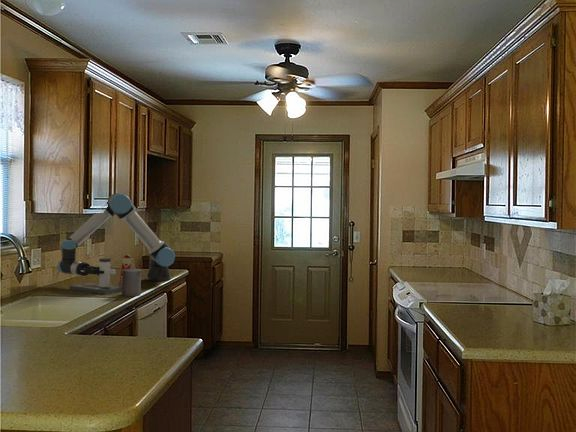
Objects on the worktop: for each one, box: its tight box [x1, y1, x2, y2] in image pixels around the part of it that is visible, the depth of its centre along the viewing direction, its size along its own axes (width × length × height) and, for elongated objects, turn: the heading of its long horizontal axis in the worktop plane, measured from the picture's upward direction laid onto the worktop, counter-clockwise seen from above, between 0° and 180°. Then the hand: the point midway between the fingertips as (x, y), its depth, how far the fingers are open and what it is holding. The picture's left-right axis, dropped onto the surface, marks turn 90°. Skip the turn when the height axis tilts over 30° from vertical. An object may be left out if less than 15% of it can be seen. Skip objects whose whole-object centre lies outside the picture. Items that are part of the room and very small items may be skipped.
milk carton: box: [117, 252, 136, 287], centre depth 334 cm, size 9×9×20 cm
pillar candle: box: [121, 268, 142, 297], centre depth 307 cm, size 10×10×15 cm
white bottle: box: [98, 257, 112, 287], centre depth 315 cm, size 4×4×16 cm
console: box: [69, 282, 122, 295], centre depth 318 cm, size 26×14×2 cm, turn 64°
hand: (112, 272), depth 313 cm, fingers closed on white bottle, 4 cm apart
